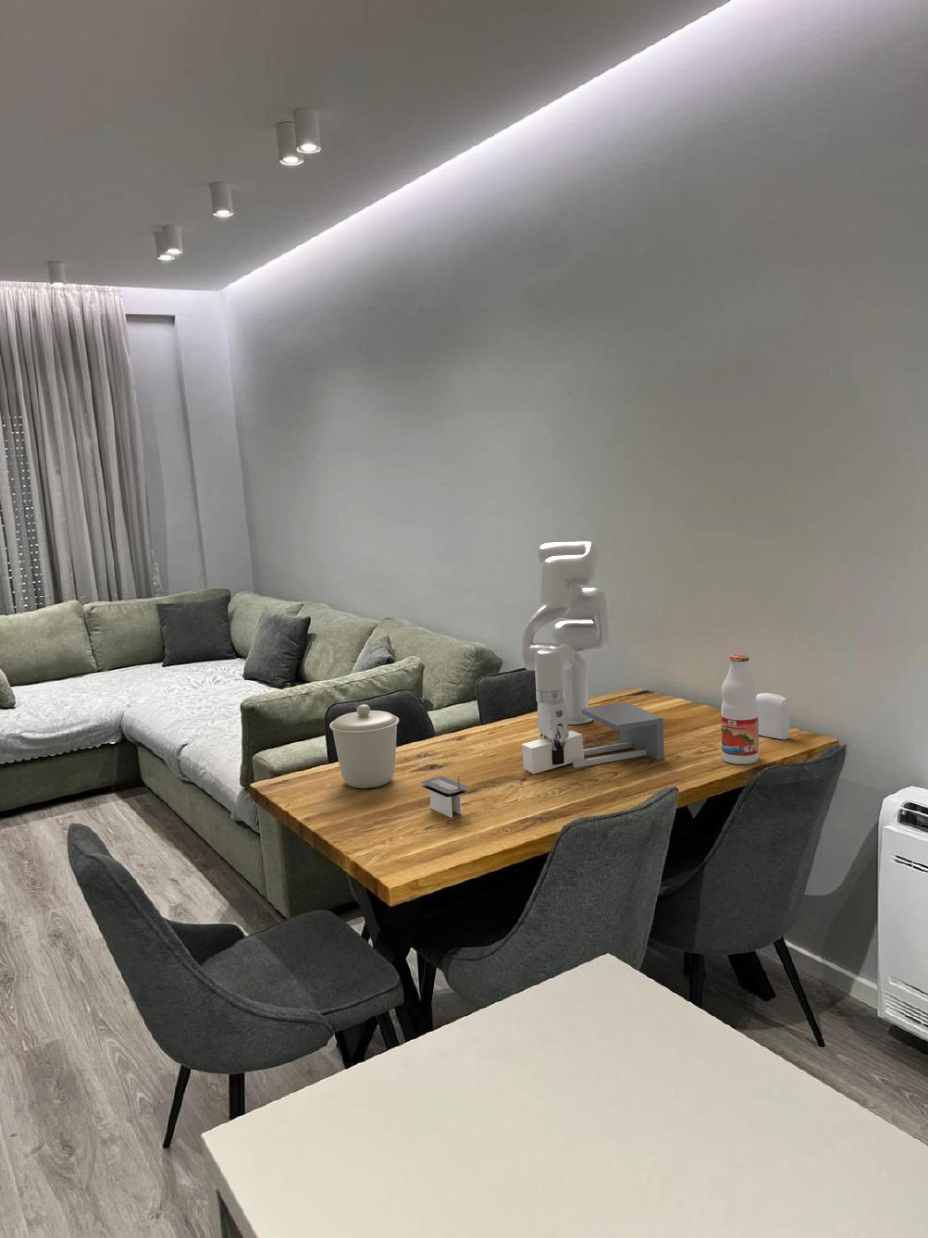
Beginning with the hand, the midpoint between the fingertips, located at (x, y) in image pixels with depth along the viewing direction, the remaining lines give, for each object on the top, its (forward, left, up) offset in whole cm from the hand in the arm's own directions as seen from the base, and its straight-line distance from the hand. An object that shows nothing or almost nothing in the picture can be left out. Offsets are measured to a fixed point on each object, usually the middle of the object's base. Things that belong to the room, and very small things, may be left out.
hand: (553, 760), depth 253 cm
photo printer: (+7, +65, -2) cm, 65 cm away
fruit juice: (+20, +45, -2) cm, 49 cm away
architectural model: (+18, -37, -2) cm, 41 cm away
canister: (-12, -48, -2) cm, 50 cm away
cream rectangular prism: (0, 0, -1) cm, 1 cm away
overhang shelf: (0, +16, -2) cm, 16 cm away
